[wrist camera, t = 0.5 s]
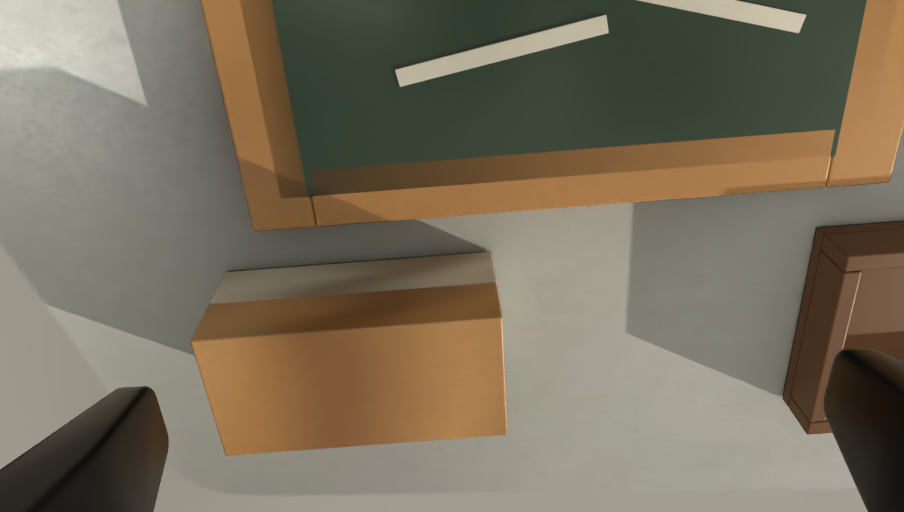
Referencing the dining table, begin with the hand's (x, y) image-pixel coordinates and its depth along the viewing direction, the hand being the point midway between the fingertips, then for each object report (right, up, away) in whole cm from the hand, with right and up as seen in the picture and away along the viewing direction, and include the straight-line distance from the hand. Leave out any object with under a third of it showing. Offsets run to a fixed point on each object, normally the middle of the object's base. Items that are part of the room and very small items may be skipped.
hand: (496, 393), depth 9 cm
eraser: (-4, 0, +15) cm, 16 cm away
